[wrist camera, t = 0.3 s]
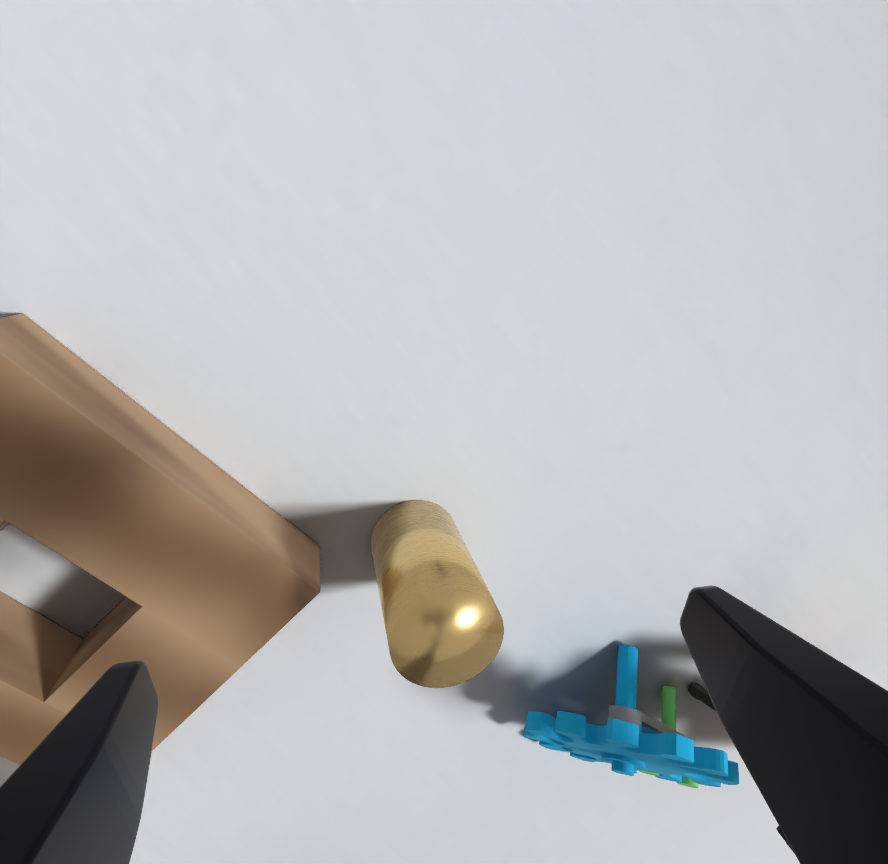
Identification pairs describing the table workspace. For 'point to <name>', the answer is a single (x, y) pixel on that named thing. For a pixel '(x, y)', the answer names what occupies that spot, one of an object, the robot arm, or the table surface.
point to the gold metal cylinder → (432, 597)
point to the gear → (634, 736)
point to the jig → (128, 546)
